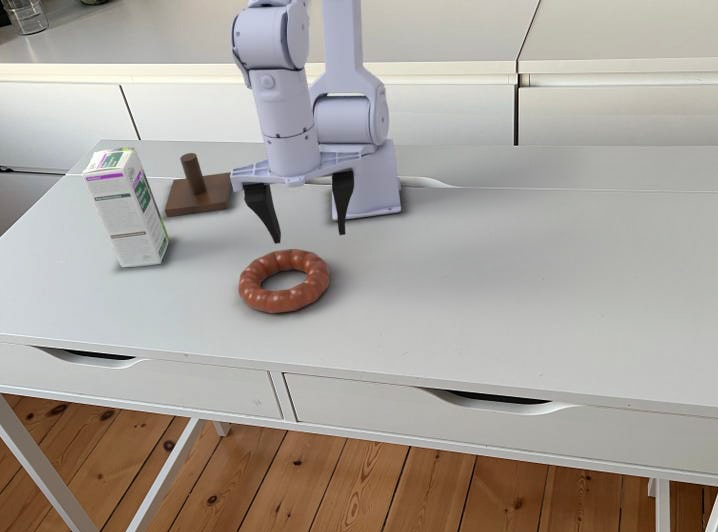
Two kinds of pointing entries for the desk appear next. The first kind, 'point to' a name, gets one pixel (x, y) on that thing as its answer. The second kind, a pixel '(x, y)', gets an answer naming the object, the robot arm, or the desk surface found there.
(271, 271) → the ring
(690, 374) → the desk surface
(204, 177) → the post
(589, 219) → the desk surface
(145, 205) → the syrup box
